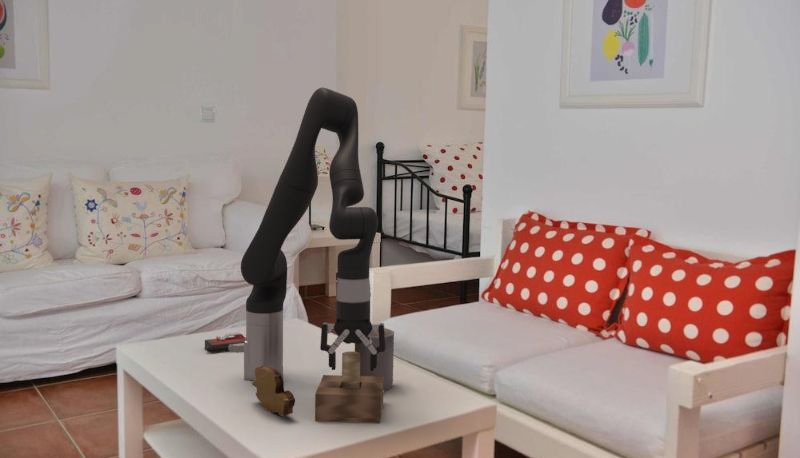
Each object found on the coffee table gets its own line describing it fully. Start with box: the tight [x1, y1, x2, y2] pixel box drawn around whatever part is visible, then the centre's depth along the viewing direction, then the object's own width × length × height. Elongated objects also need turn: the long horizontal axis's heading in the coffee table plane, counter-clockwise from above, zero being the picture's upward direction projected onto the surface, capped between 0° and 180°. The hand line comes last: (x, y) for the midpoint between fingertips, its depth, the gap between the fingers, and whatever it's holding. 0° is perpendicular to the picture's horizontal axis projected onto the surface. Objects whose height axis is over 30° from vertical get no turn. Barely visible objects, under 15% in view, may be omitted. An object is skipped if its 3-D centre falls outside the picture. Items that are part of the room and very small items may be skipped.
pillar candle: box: [354, 327, 395, 392], centre depth 198 cm, size 10×10×15 cm
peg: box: [341, 350, 360, 388], centre depth 180 cm, size 4×4×12 cm
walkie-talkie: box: [204, 332, 246, 354], centre depth 232 cm, size 9×4×20 cm
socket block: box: [314, 374, 385, 424], centre depth 180 cm, size 14×14×6 cm
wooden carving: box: [251, 366, 296, 417], centre depth 179 cm, size 16×5×10 cm, turn 40°
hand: (352, 369), depth 180 cm, fingers open, 8 cm apart
